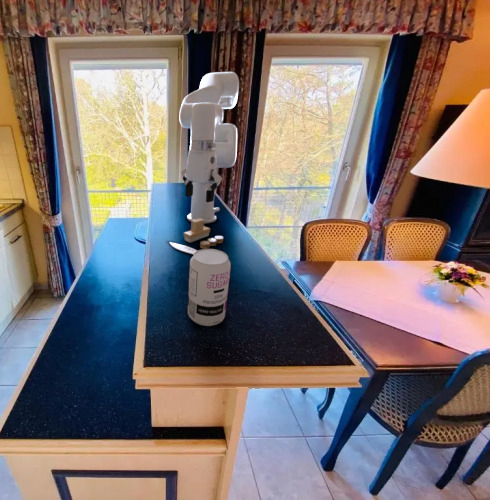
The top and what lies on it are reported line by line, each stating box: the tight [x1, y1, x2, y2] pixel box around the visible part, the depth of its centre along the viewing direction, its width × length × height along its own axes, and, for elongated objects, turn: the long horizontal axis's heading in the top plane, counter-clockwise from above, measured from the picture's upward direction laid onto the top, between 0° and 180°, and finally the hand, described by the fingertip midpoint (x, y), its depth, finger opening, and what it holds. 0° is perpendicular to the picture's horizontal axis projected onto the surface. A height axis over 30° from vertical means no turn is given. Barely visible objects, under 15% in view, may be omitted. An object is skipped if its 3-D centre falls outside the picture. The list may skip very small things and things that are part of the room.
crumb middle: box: [206, 237, 218, 247], centre depth 98 cm, size 3×3×2 cm
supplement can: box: [187, 248, 232, 327], centre depth 60 cm, size 8×8×15 cm
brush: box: [183, 218, 211, 243], centre depth 102 cm, size 11×3×7 cm, turn 129°
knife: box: [169, 241, 231, 279], centre depth 88 cm, size 30×2×8 cm
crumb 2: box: [213, 235, 224, 244], centre depth 100 cm, size 3×3×2 cm
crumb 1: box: [199, 240, 211, 249], centre depth 96 cm, size 3×3×2 cm
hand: (199, 198), depth 96 cm, fingers open, 9 cm apart
